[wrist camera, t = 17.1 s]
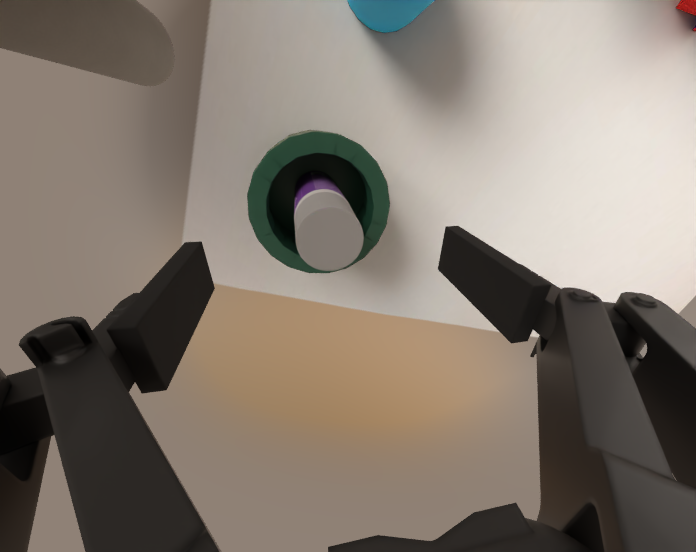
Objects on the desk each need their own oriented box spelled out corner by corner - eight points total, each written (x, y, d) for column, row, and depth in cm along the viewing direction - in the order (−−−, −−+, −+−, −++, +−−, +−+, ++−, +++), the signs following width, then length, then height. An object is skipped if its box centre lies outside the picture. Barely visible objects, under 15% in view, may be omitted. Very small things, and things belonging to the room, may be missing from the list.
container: (285, 185, 30) (278, 232, 17) (321, 161, 29) (342, 189, 16) (310, 220, 32) (320, 284, 19) (344, 198, 31) (377, 249, 19)
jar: (238, 197, 30) (218, 221, 23) (305, 102, 27) (309, 92, 19) (322, 257, 36) (329, 294, 28) (387, 183, 33) (416, 202, 25)
